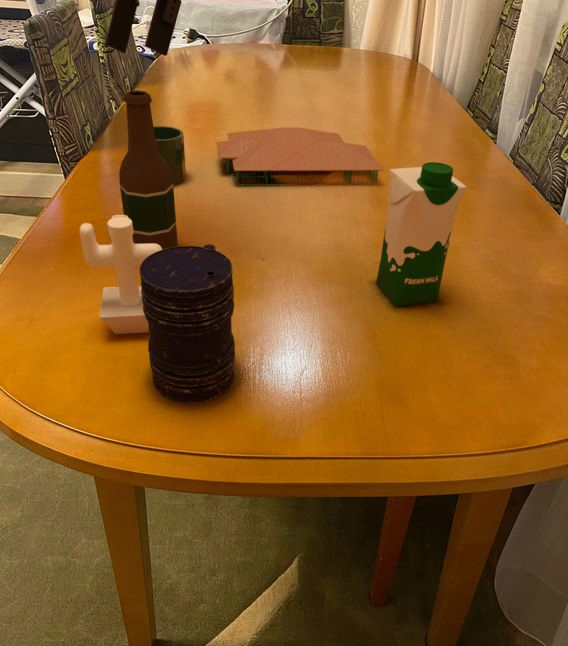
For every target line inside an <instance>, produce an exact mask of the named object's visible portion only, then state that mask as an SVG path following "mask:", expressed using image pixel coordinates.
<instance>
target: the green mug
mask: <svg viewBox="0 0 568 646" xmlns="http://www.w3.org/2000/svg"><path fill="white" fill-rule="evenodd" d="M153 127H154V133H155V140H156V144H157V148H158V151H159V153H160V154H161V155H162V157H163V158H164V159H165V161H166V162H167V164H168V166H169V168H170V171H171V174H172V180H173V187H175V186H178V185H180V184H183V183H185V182H186V179H187V169H186V154H185V153H186V152H185V151H186V150H185V138H184V137H185V135H184V132H183V130H182V129H180V128H176V127H173V126H165V125H159V126H155V125H153Z"/></svg>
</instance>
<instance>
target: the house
mask: <svg viewBox="0 0 568 646" xmlns="http://www.w3.org/2000/svg"><path fill="white" fill-rule="evenodd" d="M226 135H227V140H223V141H222V140H221V141H216V142H215V143H216V150H217V156H218V159H221V160H222V161H225V165H226V172H227V175H228V176H229V175H230V176H231V175H236V180H237V185H238V186H268V185H269V186H270V185H271V186H272V185H273V186H276V185H279V186H280V185H282V186H283V185H286V186H287V185H290V186H291V185H296V183H297V182H296V181H297V180H296V179H297V174H295V175H290V183H289V181H288V180H289V175H283V178H282V179H283V180H282V183H281V175H279V176H278V175H275V178H274V179H275V183H273V179H271V183H269V177H270V178H273V172H302V173H303V175H302V180H304V179H305V172H307V174H306V179H309V172H311V174H310V177H313V175H312V174H313V172H315V173H314V176H317V175H316V173H317V172H319V173H318V175H320V172H322V174H324V172H342V173H341V178H343V177H345V180H346V181H345V182H344V185H351V184H352V183H351V182H352V175H356V173H360V172H364V174H361V179H364V175H365V177H368V176H369V177H370V178H369V181H368V184H371V185H377V182H378V175H379V174H378V173H379V171H384V168H383V167H382V166H381V165H380V163H379V162H378V160H377V159H376V158H375V157H374V155H373V154H372V152H371V151H370V149H369V148H368V147H367V145H366V144H365V145H364V144H358V143H350V142H344V140H343V138H342V137H341V136H340V134H339V133H335V132H331V131H329V132H328V131H323V130H316V129H311V128H306V127H298V126H297V127H295V126H294V127H292V126H290V127H289V126H287V127H286V126H285V127H274V128H265V129H263V128H262V129H254V130H246V131H245V130H244V131H243V130H242V131H235V132H227V133H226ZM229 159H230V163H229ZM230 166H231V169H232V170H231V171H232V172H231V173H229V172H230V171H229V169H230ZM233 172H235V173H233ZM240 172H251V175H250V178H256V175H254V174H256V172H262V173H263V175H258V178H264V180H265V184H264V183H257V184H256V183H253V184H252V183H249V184H248V183H246V184H245V183H242V184H241V183H240V177H242V178H248V177H249V173H240ZM269 172H270V176H269ZM353 172H354V173H353ZM253 175H254V176H253ZM285 177H287V181H286V183H285V182H284V180H285ZM293 177H294V178H295V180H294V183H293V182H292V180H293ZM333 177H334V178H333V181H335V180H336V175H333ZM339 177H340V173H338V175H337V179H340V178H339ZM357 177H358V179H357V181H360V180H359V177H360V175H357ZM277 178H279V179H278V180H279V181H278V182H279V183H277ZM300 178H301V173H299V174H298V181H300V180H301V179H300ZM331 179H332V177H330V178H329V183H331V182H332V181H331ZM371 179H372V183H370V182H371ZM355 180H356V177H354V180H353V181H354V182H353V183H355ZM321 181H322V183H321V185H324V180H321ZM327 182H328V178H326V181H325V185H328V183H327ZM317 185H320V182H318V183H317ZM340 185H343V182H341V183H340ZM360 185H363V182H361V183H360ZM364 185H367V180H365V183H364Z"/></svg>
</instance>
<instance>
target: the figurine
mask: <svg viewBox="0 0 568 646" xmlns="http://www.w3.org/2000/svg"><path fill="white" fill-rule="evenodd" d="M106 224H107V225H106V226H107V230H108V235H109V237H110V238H111V243H109V244H99V243H98V242H97V238H96V235H95V234H96V233H95V229H94V226H93V224H92V223H89V222H84V223H82V224H81V225H80V227H79V237H80V242H81V247H82V253H83V258H84V261H85V263H86V265H88V266H89V267H90V268H113V269H115V273H116V279H117V285H118V286H104V287H103V289H102V296H101V303H100V309H99V315H98V318H99V320H101V321H102V322H103V323H104V324H105V325H106V327H108V328H109V329H110V330H111V331H112V333H114V334H115V335H124V334H142V333H145V334H146V333H149V327H148V321H147V320H146V318H145V314H144V312H143V302H142V296H141V285H139V278H138V269H137V267H140V265H141V263H142V262H143V260H144V259H146V258H147V257H148V256H150V255H151V254H153V253H155V252H157V251H160V250H162V248H161V246H160V245H158V244H154V243H151V244H134V243H133V237H132V235H133V233H134V232H133V225H132V220H131V219H129V218H128V216H126V215H124V214H114V215H112V216H111V218H110V219H108V221H107V223H106Z"/></svg>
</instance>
